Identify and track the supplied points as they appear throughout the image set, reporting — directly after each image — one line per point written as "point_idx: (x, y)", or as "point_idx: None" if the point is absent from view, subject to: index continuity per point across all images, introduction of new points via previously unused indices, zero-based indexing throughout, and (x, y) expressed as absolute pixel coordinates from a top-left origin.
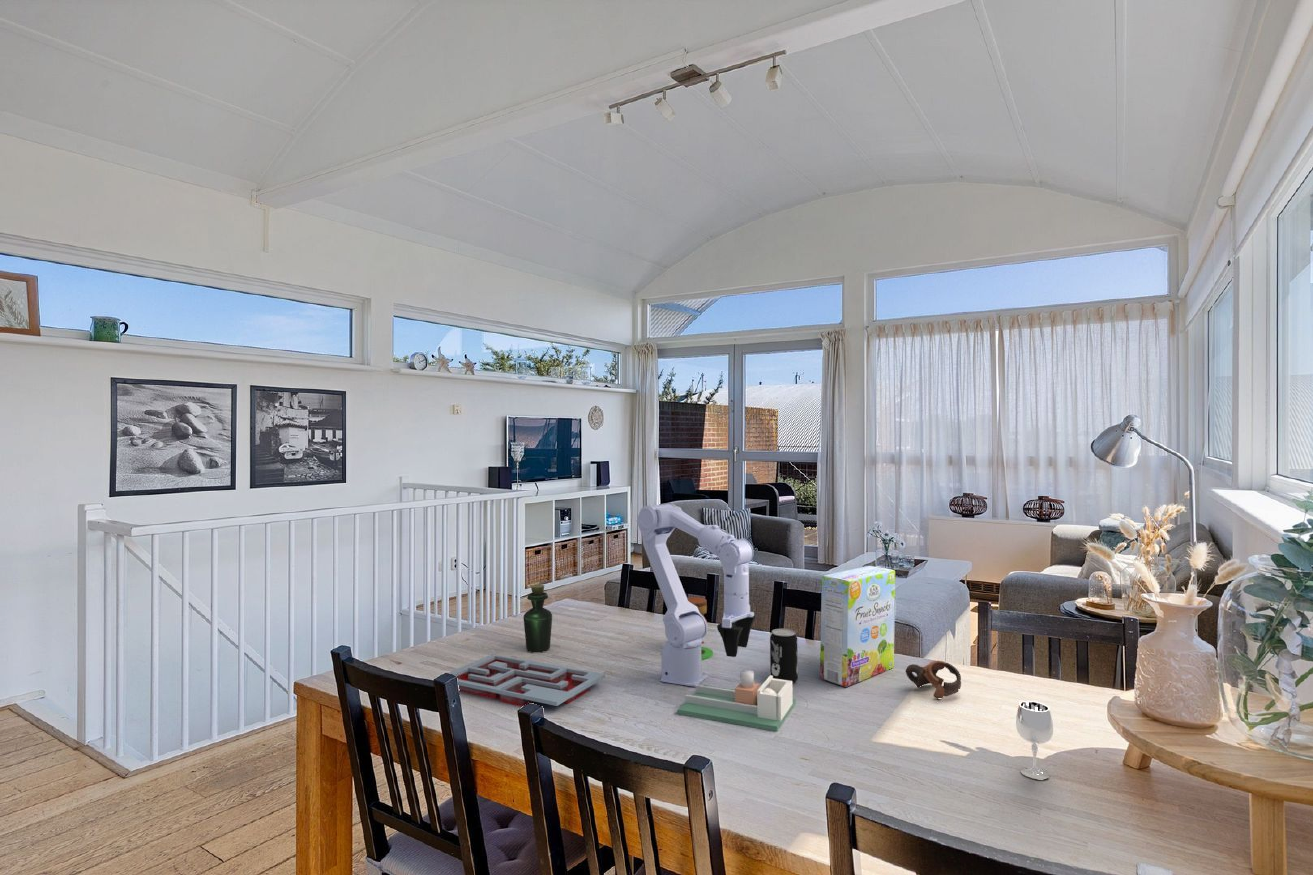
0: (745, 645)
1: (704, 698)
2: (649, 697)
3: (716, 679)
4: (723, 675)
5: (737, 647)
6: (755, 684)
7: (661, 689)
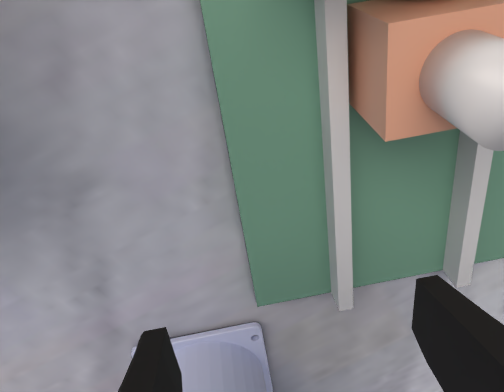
0: (164, 342)
1: (477, 218)
2: (408, 363)
3: (129, 311)
4: (67, 315)
5: (473, 323)
6: (415, 40)
7: (330, 375)
